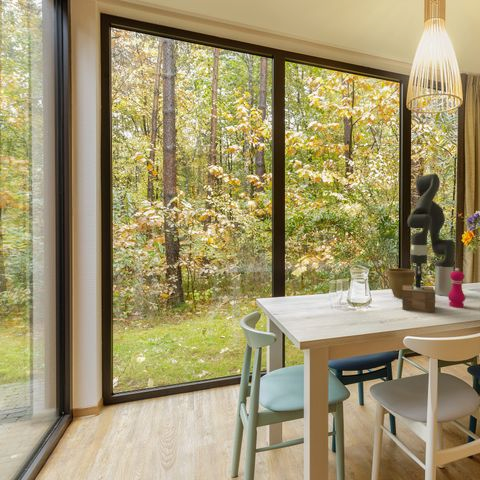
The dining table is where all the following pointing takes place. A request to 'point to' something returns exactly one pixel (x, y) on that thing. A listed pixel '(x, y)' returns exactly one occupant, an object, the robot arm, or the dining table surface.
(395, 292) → the plant pot
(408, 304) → the socket block
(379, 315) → the dining table surface
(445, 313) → the dining table surface
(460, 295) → the pepper mill
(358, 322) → the dining table surface
